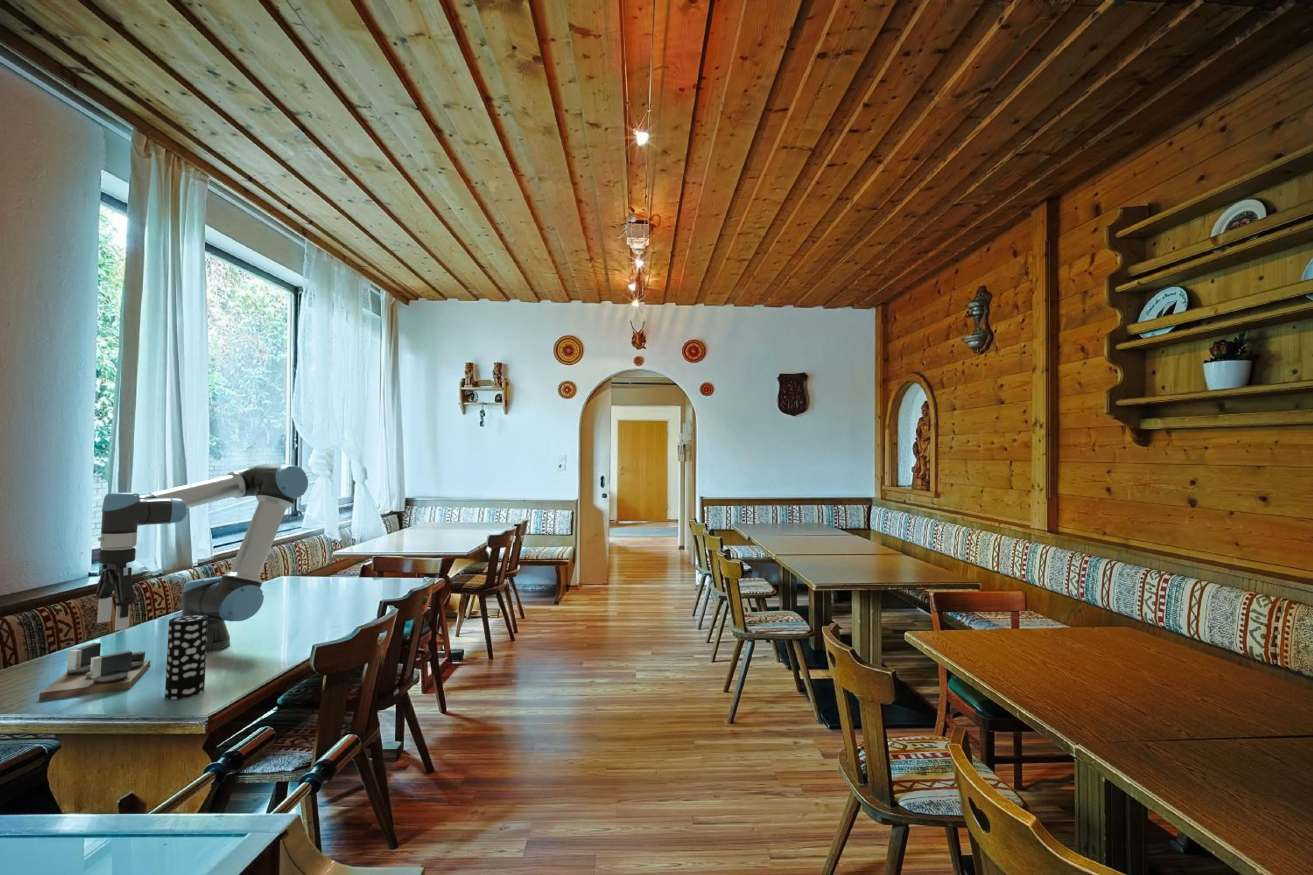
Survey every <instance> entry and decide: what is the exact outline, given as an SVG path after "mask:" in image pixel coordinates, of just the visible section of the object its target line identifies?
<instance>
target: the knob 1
mask: <svg viewBox="0 0 1313 875" xmlns="http://www.w3.org/2000/svg"><path fill="white" fill-rule="evenodd" d="M101 646H102V644H101V642H92V643H89V644H87V645H83V646H80V647H78V648H75V649H71V650H69V651H68V655H67V657H68V658H67V667H66V672H67V674H83V673H88V672H90V667H91V658H93V657H98V656H99V657H100V656H101V649H102V648H101Z"/></svg>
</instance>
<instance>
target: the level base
mask: <svg viewBox="0 0 1313 875" xmlns="http://www.w3.org/2000/svg"><path fill="white" fill-rule="evenodd" d="M151 661H152V660H151V659H149V660H144V664H143V665H142V666H139V667H136V668H132V669H131V670H128V677H126V678H125V679H122V680H119V681H115V682H110V683H94V682H93V679H94V678H93V679H92V678H91V677H90V672H88V673H83V674H67V671H66V672H65V673H63V674H62V675H61V676H59V677H58V678H57V679H56V680H54V681H53V682H51V684H49V685H48V686H47V687H45V688H43V690H41V691H40V692H39V696H38V697H39V699H38V701H39V700H40V701H46V700H45V699H48V700H56V699H63V698H70V697H77V696H86V695H93V694H101V693H102V694H103V693H109V692H110V693H111V692H117V691H118V692H119V691H126V690H130V689H131V688H132V687H133V686H134V684H136V682H138V680H140V678H141V677H143V675H144V674H145V673H146V672H147V671H148V670H149V669H150V668H151ZM149 667H150V668H149ZM148 668H149V669H148Z"/></svg>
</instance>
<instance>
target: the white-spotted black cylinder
mask: <svg viewBox="0 0 1313 875" xmlns="http://www.w3.org/2000/svg"><path fill="white" fill-rule="evenodd" d="M207 625H208V616H207V615H187V616H182V615H181V616H177V617H174V618H171V619H169V620H168V631H167V632H168V634H167V648H166V649H167V651H166V652H167V653H166V668H165V669H166V672H165V685H164V686H165V688H164V691H165V692H164V697H165V699H167V700H181V699H187V698H191V697H195V696H197V695H200V694H202V693H203V692H205V681H206V661H207V652H206V645H207Z"/></svg>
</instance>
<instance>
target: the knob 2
mask: <svg viewBox="0 0 1313 875" xmlns="http://www.w3.org/2000/svg"><path fill="white" fill-rule="evenodd" d="M132 653H133V651H131V650H125V651H121V652H114V653H111V654H105V655H100V657H99V656H98V657H93V658H91V667H90V677H91V678H92V679H93V678H94V679H93V682H94V683H110V682H115V681H119V680H122V679H125V678H126V677H128V670H131V662H132Z"/></svg>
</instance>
